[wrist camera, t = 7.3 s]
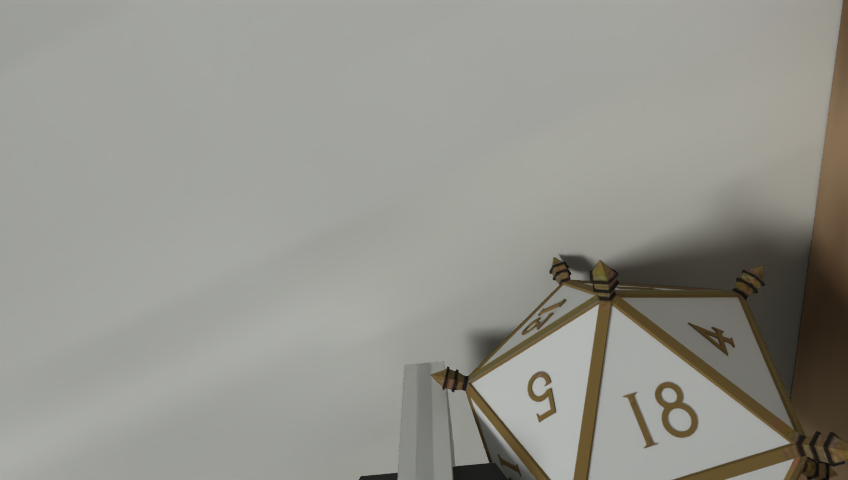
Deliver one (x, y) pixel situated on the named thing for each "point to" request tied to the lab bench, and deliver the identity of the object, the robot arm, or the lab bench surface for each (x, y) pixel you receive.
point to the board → (828, 280)
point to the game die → (640, 389)
